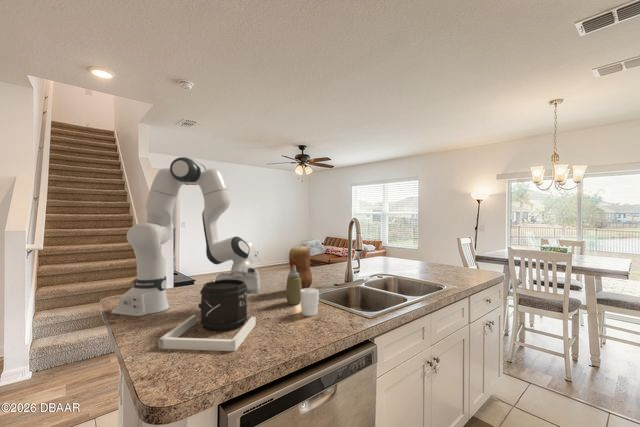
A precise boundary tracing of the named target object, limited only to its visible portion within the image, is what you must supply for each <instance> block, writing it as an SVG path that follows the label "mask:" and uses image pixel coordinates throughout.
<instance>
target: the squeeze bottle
mask: <svg viewBox="0 0 640 427" xmlns="http://www.w3.org/2000/svg"><path fill="white" fill-rule="evenodd" d="M288 275H289V278H288V277H287V278H288V279H287V278H286V285H285V286H286V287H285V299H286V301H287V304H289V305H291V306H292V305H295V306H296V305H299V304H301V292H300V290H301V289H302V286H301V278H300V277H299V273H297V271H296V267H295V265H293V267H292V272H291V273H289V272H288Z"/></svg>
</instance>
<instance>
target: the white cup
mask: <svg viewBox="0 0 640 427" xmlns="http://www.w3.org/2000/svg"><path fill="white" fill-rule="evenodd" d="M300 292H301V302H300V307H301V314H302V316H305V317H312V316H313V317H314V316H317V315H318V310H319V308H318V307H319V296H320V294H319V293H320V292H319V289H317V288H314V287H309V288H305V289H301V290H300Z"/></svg>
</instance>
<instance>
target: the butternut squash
mask: <svg viewBox="0 0 640 427" xmlns="http://www.w3.org/2000/svg"><path fill="white" fill-rule="evenodd" d="M310 253H311V252H310V249H309V248H308V247H307V246H306V245H298V246H294V247H292V248H290V250H289V255H288V260H289V262H288V263H289V267H290V270H289V272H288V275H287V278H286V280H287V279H288V278H289V273H291V272H292V267H293V265H295V267H296V271H297V273H299V277H300V278H301V286H302V289H305V288H311V285H312V283H313V274H312V271H311V256H310V255H311V254H310Z"/></svg>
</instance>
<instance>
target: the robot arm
mask: <svg viewBox="0 0 640 427" xmlns="http://www.w3.org/2000/svg"><path fill="white" fill-rule="evenodd" d="M182 185H183V186H184V185H188V186H190V185H191V186H193V185H194V186H197V185H198V186H199V188H200V190H201V193H202V198H203V201H204V202H203V206H204V208H203V210H202V214H201V216H202V218H201V219H202V225H203V226H202V227H203V232H204V233H203V234H204V237H205V238H204V239H205V248H206V250H205V254H206V258H207V259H208V261H209V262H211V263H212V264H213V265H221V264H222V263H225V262H228V261H232V262H233V263H232V266H231V269H230V271H229V272H228V273H223V272H222V273H219V274H217V275H216V277H215V280H224V279H237V280H241V281H245V284H246V285H247V291H246V294H247V295H248V294H249V295H257V294H259V293H260V291H261V281H260V279H261V275H260V272H259V270H258V269H257V268H253V267H252V266H253V263H254V261H255V260H254V259H255V256H256V255H255V254H256V248H255V245H254V244H253V243H252V241H248V240H244V239H242V238H241V237H240V236H232V237H229V238H226V239H223V240H220V239H219V234H218V227H217V222H218V219H219V218H220V217H221V215H222V214H224V213H225V212H226V211H227V210H228V208H229V207H230V204H231V195H230V193H229V192H230V191H229V188H228V186H227V183H226V180H225V179H224V177H223V175H222V173H221V171H220V170H218V169H216V168H206V167H205V166H204V165H203V163H200V162H199V161H197V160H195V159H192V158H189V157H186V156H184V157H183V156H182V157H177V158H175V159H174V160H173V161H171V163H170V165H169V168H168V167H165V168H163V167H162V168H161V169H159V170H158V171H157V173H156V174H155V176H154V179H153V180H152V183H151V186H150V189H149V192H148V195H147V199H146V201H145V202H146V203H145V207H144V208H145V210H146V221H145V222H139V223H136V224H134V225H133V226H131V227H130V228H129V229H128V230H127V233H126V240H127V243H128V244H129V245H131V247H132V249H133V252H134V255H135V260H136V278H135V279H133V280H131V281H130V282H131V283H130V284H132V285H133V286H132V287H131V288H130V289H129V290H128V291H126V292H124V293H123V294H122V295H121V296H120V297H119V299H118V303H117V306H116V307H114V308H113V309H112V310H111V313H110V314H114V315H115V314H117V315H124V316H133V317H142V316H144V315H145V316H146V315H150V314H151V315H152V314H156V313H160V312H163V311H166V310H168V309H169V308H170V304H169V300H168V296H167V276H166V259H165V257H164V255H163V253H162V249H161V245H164V244H165V243H167V242H168V241H169V240H170V239H172V236H173V229H172V222H173V221H172V220H173V211H174V208H175V204H176V201H177V197H178V194H179V190H180V188H181V187H182Z"/></svg>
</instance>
